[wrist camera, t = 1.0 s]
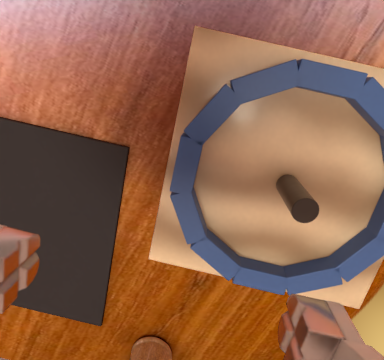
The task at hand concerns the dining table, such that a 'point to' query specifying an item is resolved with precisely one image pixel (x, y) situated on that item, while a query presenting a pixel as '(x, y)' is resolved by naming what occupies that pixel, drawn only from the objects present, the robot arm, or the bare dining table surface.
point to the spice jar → (151, 349)
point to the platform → (275, 166)
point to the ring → (215, 116)
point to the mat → (63, 214)
